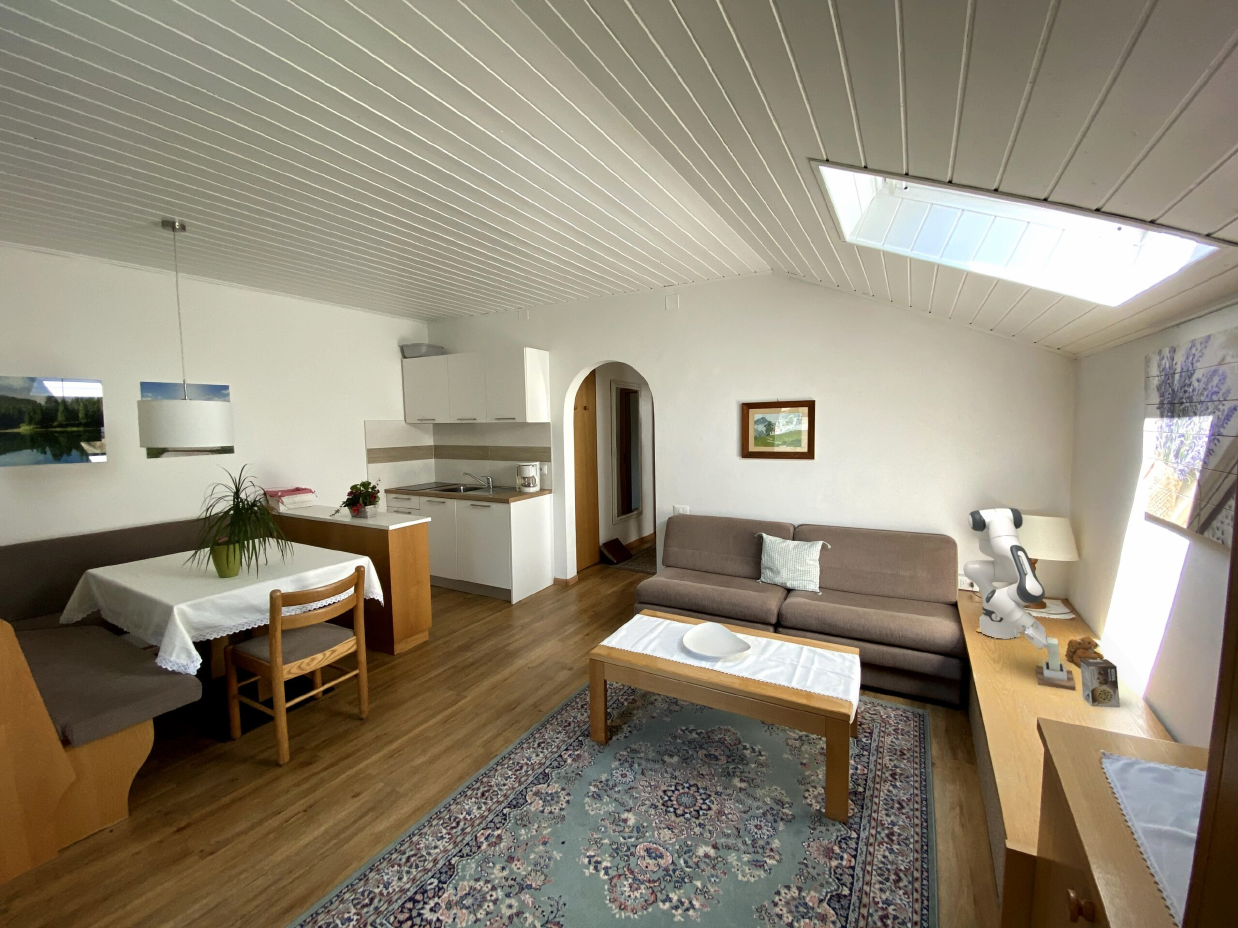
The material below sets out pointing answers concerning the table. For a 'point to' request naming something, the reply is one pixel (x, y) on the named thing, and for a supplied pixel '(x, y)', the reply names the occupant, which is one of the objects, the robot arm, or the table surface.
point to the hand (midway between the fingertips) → (1053, 647)
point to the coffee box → (1099, 682)
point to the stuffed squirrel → (1082, 650)
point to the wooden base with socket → (1055, 677)
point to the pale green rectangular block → (1053, 655)
